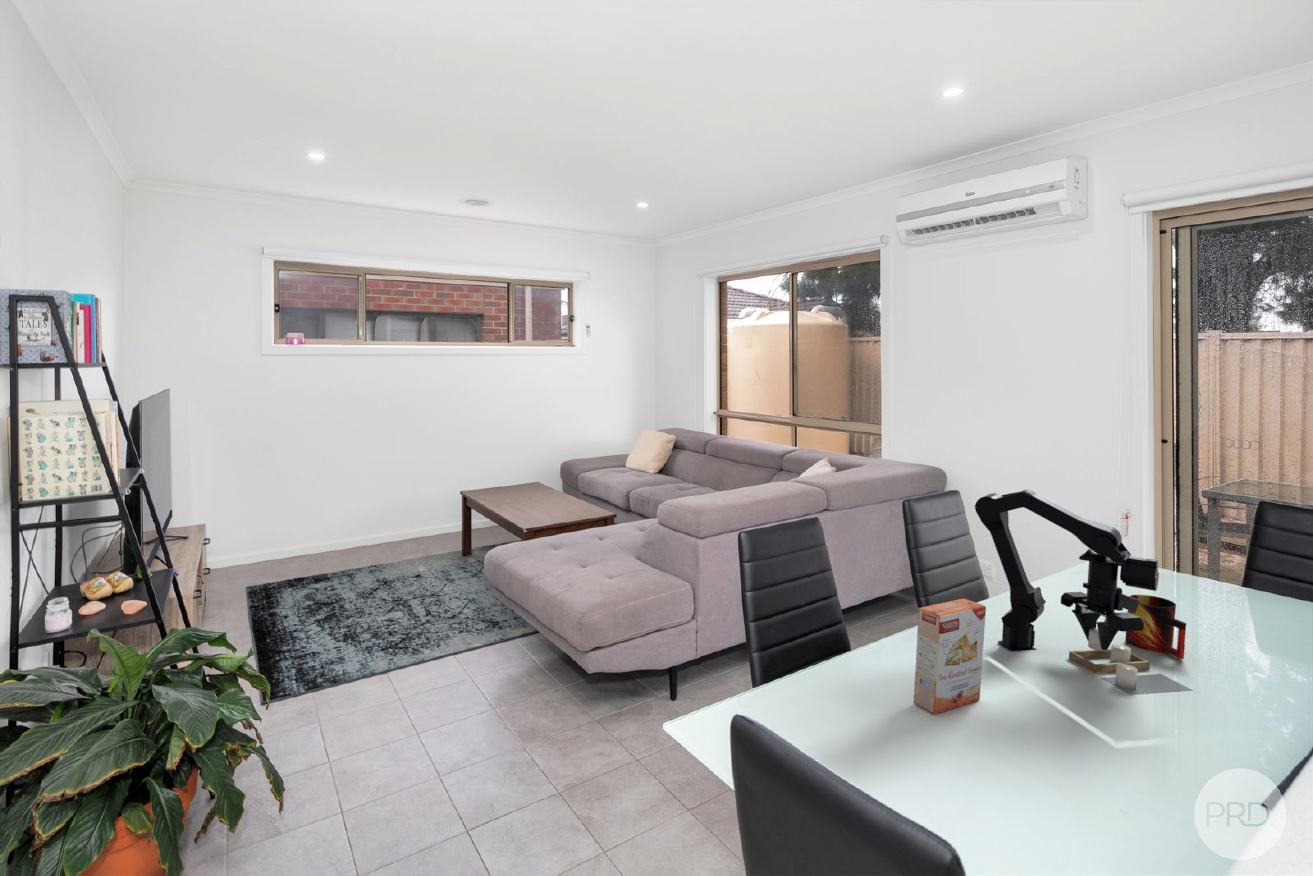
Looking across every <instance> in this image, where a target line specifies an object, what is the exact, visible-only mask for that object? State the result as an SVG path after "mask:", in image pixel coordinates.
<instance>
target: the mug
mask: <svg viewBox="0 0 1313 876" xmlns="http://www.w3.org/2000/svg"><path fill="white" fill-rule="evenodd" d="M1129 596H1130V597H1132V598H1135V599H1137V600H1140V603H1139V606H1138V608H1137V611H1136V613H1133V612H1132V611H1130V610H1127V612H1129V613H1131V614H1133V615H1136V616H1138V617H1140V618H1141V619H1142V620H1143V621H1144V628H1143V631H1125V638H1124V639H1125V640H1124V643H1125V644H1124V645H1125V646H1128V645H1131V646H1133V647H1134V648H1138V649H1140V650H1141V649H1142V650H1145V651H1150V652H1155V653H1160V652H1161V653H1167V654H1168V655H1171V656H1173V657H1175V659H1176V658H1177V659H1179V660H1184V659H1185V645H1186V644H1185V643H1186V630H1187V623H1186V622H1184V621H1181V620H1180V619H1177V618H1176V609H1177V604H1176V603H1175V602H1174V601H1172V600H1170V599H1168V598H1167V599H1166V598H1163V597H1160V596H1155V595H1148V594H1132V595H1131V594H1130V595H1129ZM1175 628H1177V629H1178V631H1177V633H1178V634H1177V644H1176V645H1177V646H1176V648H1175V647H1173V646H1174V635H1175V634H1174V633H1175Z"/></svg>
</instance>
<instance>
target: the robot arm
mask: <svg viewBox="0 0 1313 876" xmlns="http://www.w3.org/2000/svg"><path fill="white" fill-rule="evenodd" d="M1022 508H1025V509H1026V510H1027V511H1028V510H1029V511H1030V512H1032V513H1034V514H1035V515H1037V516H1039V517H1041V518H1043V519H1045V520H1046V521H1048V522H1050V523H1052V524H1054V525H1056V526H1058V527H1059V528H1061V529H1063V530H1065V531H1067V532H1069V533H1071V534H1072V535H1073V536H1074V537H1076V538H1077V539H1078V541H1080V542H1081V543H1082V544H1083V545H1084V546H1086V547H1087V548H1088V549H1087V550H1086V551H1085V552H1084V553H1082V554H1081V555H1080V556H1079V557H1078V559H1079V560H1081V561H1086V562H1088V571H1087V582H1083V583H1082V588H1084V589H1086V593H1085V592H1082V591H1071V592H1070V591H1069V592H1064V593H1063V594H1062V595H1061V596H1060V604H1061V605H1062V606H1065V607H1067V608H1071V607H1073V605H1074V609H1071V612H1072V613H1073V614H1074V616H1075V618H1076V620H1077V621H1078V623H1079V625H1080V627H1081V629H1082V632H1083V634H1084V635H1085V638H1086V640H1087V642H1088V641H1089V629H1091V628H1098V632H1099V638H1100V644H1101V648H1102V650H1107V649H1110V646H1111V645H1112V642H1113V640H1114V639H1115V636H1116V635H1117V634H1118V633H1119V632H1125V633H1126V631H1143V628H1144V621H1143V620H1142V619H1141V618H1140V617H1138V616H1136V615H1133V614H1131V613H1129V612H1125V611H1124V612H1121V611H1123V610H1124V609H1125V610H1127V611H1128V610H1130V611H1132V612H1133V613H1136V611H1137V608H1138V606H1139V603H1140V600H1137V599H1135V598H1132V597H1130V596H1131V595H1127V594H1124V593H1123V589H1122V588H1121V587H1120V586H1118V576H1119V578H1120V579H1119V580H1120V581H1122V583H1123V584H1124V585H1125V586H1127V587H1130V588H1137V589H1143V590H1148V591H1153V592H1157V590H1158V585H1159V579H1160V572H1159V565H1158V564H1159V561H1158V560H1157V559H1154V558H1144V557H1143V558H1140V557H1135V556H1132V554H1131V552H1130V551H1129V549H1127V547H1126V546H1125V545H1124V543H1123V539H1122V538H1123V537H1122V535H1121V533H1120V531H1119V530H1118V529H1117V528H1115V527H1113V526H1110V525H1108V524H1104V523H1102V522H1099V521H1096V520H1092V519H1091V520H1090V519H1087V518H1084V517H1082V516H1080V515H1078V514H1076V513H1074V512H1072V511H1070V510H1068V509H1066V508H1064V507H1062V506H1060V505H1059V504H1057V503H1055V502H1053V501H1051V500H1049V499H1047V498H1045V497H1044V496H1042V495H1040V494H1037V493H1036V492H1035V491H1033V490H1032V489H1023V490H1021V491H1017V492H1011V493H1007V494H1006V493H1005V494H1002V495H1000V494H999V493H995V492H994V493H989V494H987V495H984V496H982V497H980V498H979V499H978V500H976V503H975V504H974V510H975V512H976V514H977V517H978V518H979V520H980V521H981V523H982V525H983V526H984V527H985V528H986V529H987V530H988V531H989V533H990V535H991V538H992V541H993V543H994V547H995V549H996V553H997V554H998V557H999V561H1000V563H1001V566H1002V569H1003V571H1004V574H1005V577H1006V580H1007V582H1008V585H1009V594H1010V595H1009V601H1010V606H1011V608H1010V609H1009V611H1007V612H1005V614H1004V615H1003V616H1002V617H1001V622H1002V639H1001V640H998V641H997V644H999V645H1000V646H1002V647H1004V648H1005V649H1007V650H1008V651H1010V652H1026V651H1037V650H1038V649H1037V648H1036V647H1034V646H1035V640H1036V639H1035V638H1036V637H1035V636H1036V634H1035V633H1036V630H1035V629H1034V628H1035V625H1034V624H1032V623H1034V622H1036V621H1037V620H1038V619H1039V617H1040V616H1042V614H1043V613H1044V611H1045V604H1046V603H1047V601H1046V600H1045V599H1044V597H1043V594H1042V589H1041V587H1040V586H1037V587H1034V586H1033V585H1032V584H1031V583H1030V581H1029V579H1028V577H1027V573H1026V572H1025V568H1024V565H1023V563H1022V560H1021V558H1020V557H1021V556H1020V555H1019V552H1018V549H1017V547H1016V544H1015V541H1014V538H1013V535H1012V532H1011V530H1010V526H1009V524H1010V523H1009V517H1010V515H1009V511H1013V510H1016V509H1018V510H1019V509H1022ZM1119 567H1120V571H1119ZM1119 572H1120V573H1119ZM1118 574H1119V575H1118ZM1115 611H1118V612H1115ZM1101 616H1102V617H1104V618H1105V619H1104V621H1098V620H1099V618H1100V617H1101Z"/></svg>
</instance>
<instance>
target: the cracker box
mask: <svg viewBox="0 0 1313 876" xmlns="http://www.w3.org/2000/svg"><path fill="white" fill-rule="evenodd" d="M986 611H987V606H985V605H983V604H981V603H978V602H976V601H973V600H972V601H971V600H969V599H967V598H964V597H963V598H958V599H955V600H950V601H946V602H941V603H936V604H931V605H927V606H922V607H919V608H918V615H917V616H918V617H917V633H916V634H917V635H916V636H917V637H916V650H915V651H916V657H915V674H914V689H913V691H914V693H913V704H915V705H917V706H918V705H919V707H920V706H921V708H922V707H923V708H922V709H924V710H926V711H927V710H928V712H930V713H931V714H932V715H938V714H940V712H941V713H943V712H942V711H944V712H946V711H945V710H947V711H949V709H950V710H952V708H953V709H955V707H956V708H958V707H957V706H959V707H961V706H960V705H962V706H965V705H968V703H969V704H971V702H972V703H974V702H973V701H975V702H977V701H976V700H978V701H980V699H981V685H982V670H983V658H984V657H983V656H984V655H983V653H984V643H985V642H984V639H985V629H986V628H985V626H986Z"/></svg>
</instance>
